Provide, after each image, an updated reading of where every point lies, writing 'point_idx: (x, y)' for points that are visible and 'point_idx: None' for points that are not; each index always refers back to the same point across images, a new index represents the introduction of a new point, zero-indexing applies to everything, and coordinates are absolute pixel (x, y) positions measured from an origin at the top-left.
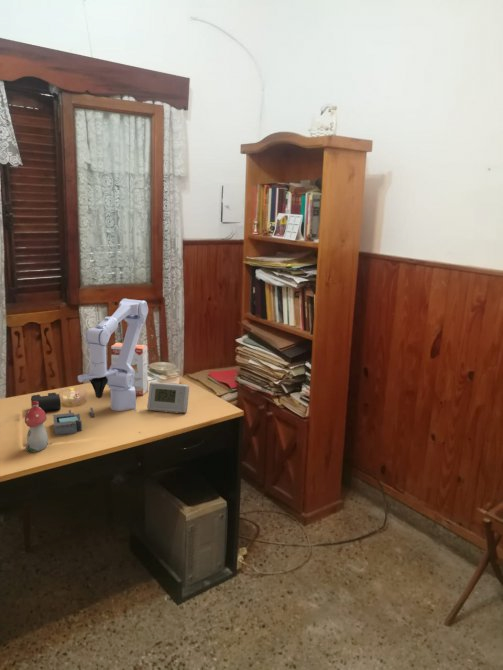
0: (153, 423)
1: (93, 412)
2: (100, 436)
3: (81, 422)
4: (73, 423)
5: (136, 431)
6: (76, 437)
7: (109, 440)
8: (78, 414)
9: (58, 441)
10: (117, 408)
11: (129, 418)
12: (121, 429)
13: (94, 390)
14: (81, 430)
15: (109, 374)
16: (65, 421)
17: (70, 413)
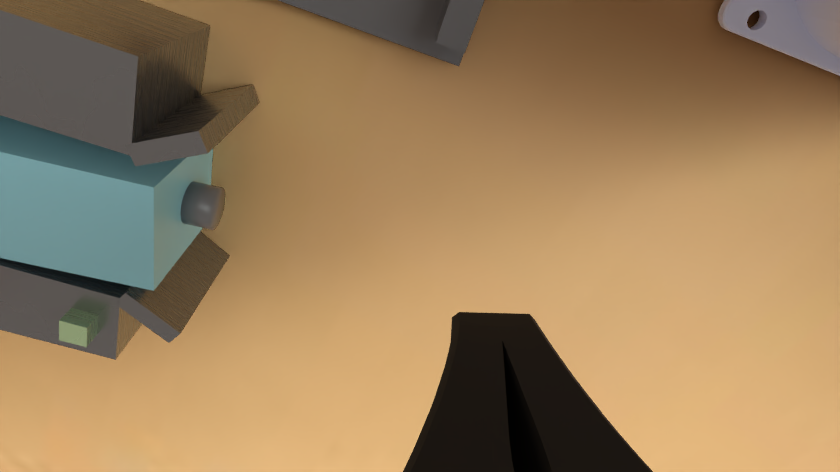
0: (791, 419)
1: (462, 38)
2: (337, 383)
3: (188, 319)
4: (85, 347)
5: None
6: None
7: (364, 454)
8: (190, 154)
9: None
10: (832, 33)
11: (748, 238)
12: None
13: (431, 409)
14: (215, 274)
15: None
16: (5, 249)
17: (85, 58)
